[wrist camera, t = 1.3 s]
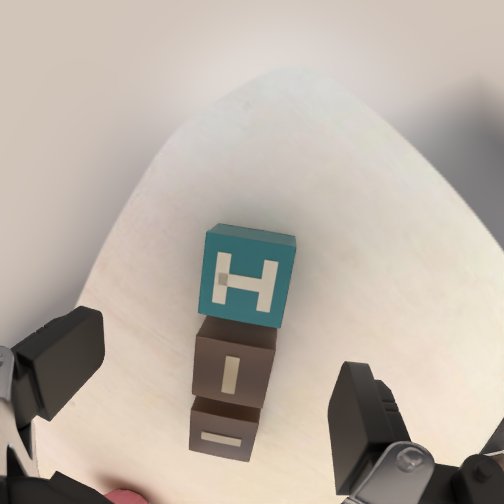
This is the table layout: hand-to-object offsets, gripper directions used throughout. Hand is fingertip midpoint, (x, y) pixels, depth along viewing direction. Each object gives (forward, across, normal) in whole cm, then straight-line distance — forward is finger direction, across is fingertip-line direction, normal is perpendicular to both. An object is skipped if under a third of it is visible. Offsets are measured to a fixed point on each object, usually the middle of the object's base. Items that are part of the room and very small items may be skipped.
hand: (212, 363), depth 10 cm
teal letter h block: (+10, 0, 0) cm, 10 cm away
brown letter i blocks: (+10, 0, +9) cm, 14 cm away
